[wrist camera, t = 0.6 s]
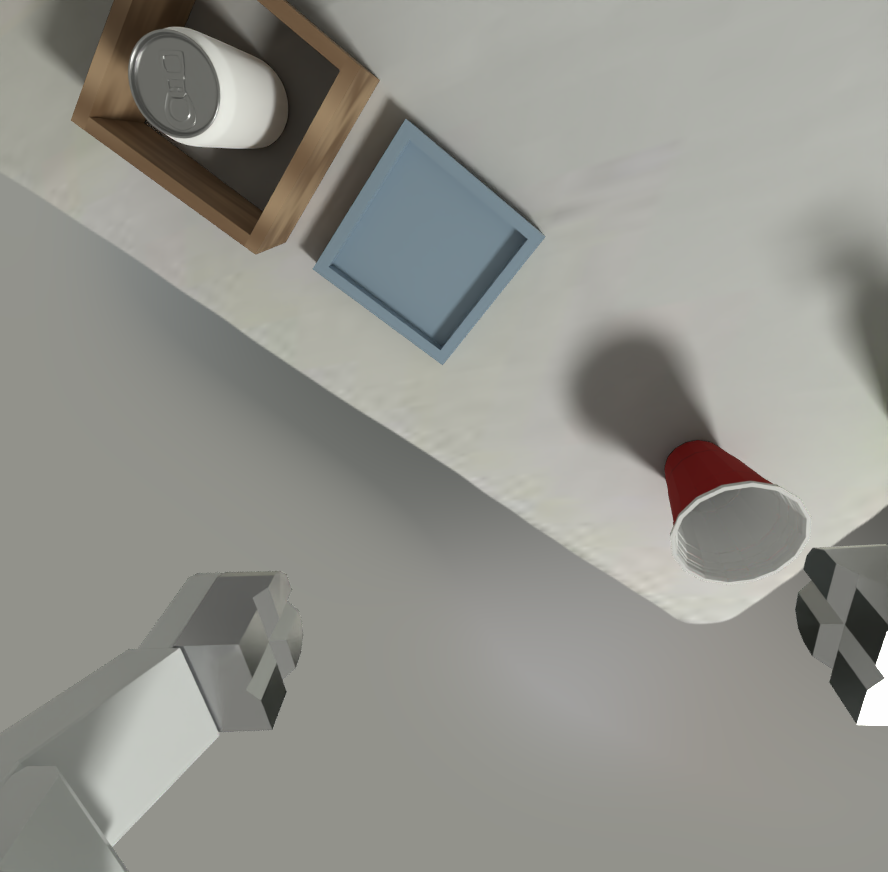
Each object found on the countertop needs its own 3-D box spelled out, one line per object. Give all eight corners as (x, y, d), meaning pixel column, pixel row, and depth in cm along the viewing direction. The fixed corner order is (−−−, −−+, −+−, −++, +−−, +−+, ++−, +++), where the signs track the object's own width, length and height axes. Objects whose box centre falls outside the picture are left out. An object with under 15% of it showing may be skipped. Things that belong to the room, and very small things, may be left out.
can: (216, 147, 46) (133, 143, 35) (204, 53, 43) (109, 17, 32) (293, 151, 45) (233, 148, 35) (286, 56, 42) (218, 21, 32)
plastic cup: (618, 493, 58) (648, 569, 47) (670, 403, 53) (716, 465, 42) (712, 524, 58) (763, 606, 48) (772, 438, 54) (843, 508, 43)
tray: (409, 120, 44) (405, 118, 42) (543, 233, 47) (545, 236, 45) (319, 265, 49) (312, 268, 47) (444, 358, 52) (442, 365, 51)
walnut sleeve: (206, -68, 39) (153, -111, 33) (379, 80, 43) (360, 66, 36) (128, 125, 45) (70, 120, 39) (285, 242, 49) (255, 254, 42)
